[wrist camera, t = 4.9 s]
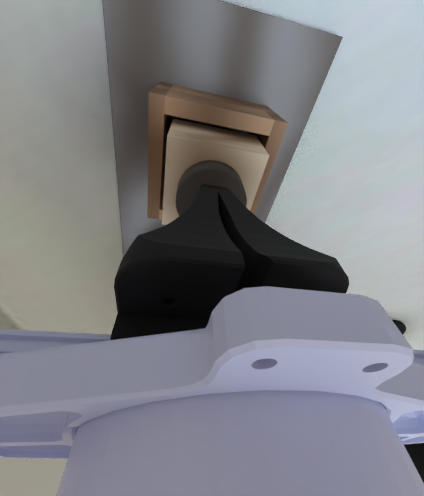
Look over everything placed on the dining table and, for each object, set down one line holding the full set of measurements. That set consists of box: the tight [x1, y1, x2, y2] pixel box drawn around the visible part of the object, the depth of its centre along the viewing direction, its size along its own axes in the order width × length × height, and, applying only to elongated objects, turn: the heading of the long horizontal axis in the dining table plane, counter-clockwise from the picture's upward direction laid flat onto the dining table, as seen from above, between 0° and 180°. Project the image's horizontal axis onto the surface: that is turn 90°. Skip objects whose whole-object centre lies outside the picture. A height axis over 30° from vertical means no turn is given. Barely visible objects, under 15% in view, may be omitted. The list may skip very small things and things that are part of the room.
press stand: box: [103, 0, 343, 256], centre depth 20 cm, size 14×28×6 cm, turn 169°
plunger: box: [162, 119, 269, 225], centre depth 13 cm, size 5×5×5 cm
